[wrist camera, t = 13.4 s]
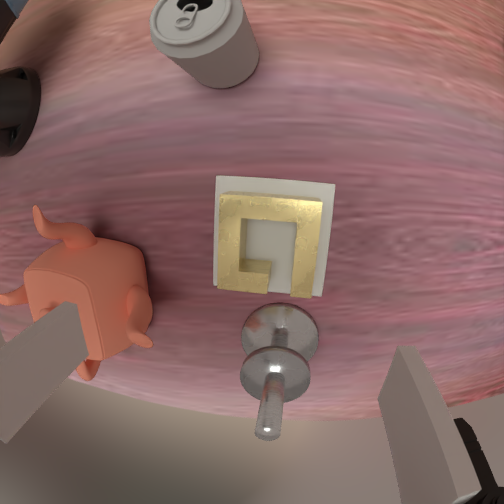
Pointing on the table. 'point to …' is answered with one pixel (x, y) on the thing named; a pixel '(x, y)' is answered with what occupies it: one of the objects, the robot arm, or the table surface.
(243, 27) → the can
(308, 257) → the link
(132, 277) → the pot
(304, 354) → the stand
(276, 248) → the mat
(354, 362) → the table surface
